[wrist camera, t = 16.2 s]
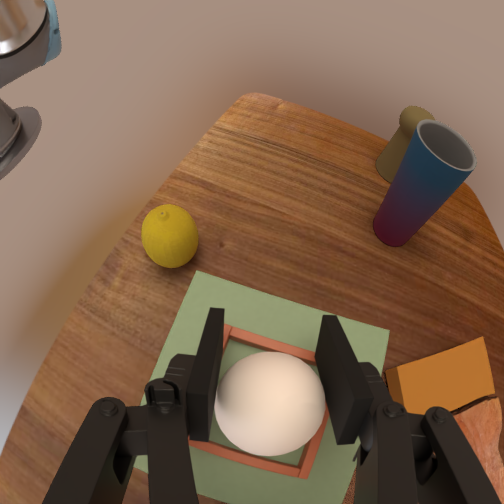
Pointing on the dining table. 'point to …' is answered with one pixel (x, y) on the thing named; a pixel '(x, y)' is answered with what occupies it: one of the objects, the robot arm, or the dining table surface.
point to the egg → (269, 403)
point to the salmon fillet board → (457, 398)
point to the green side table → (251, 342)
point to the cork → (400, 141)
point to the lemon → (169, 236)
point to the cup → (423, 181)
